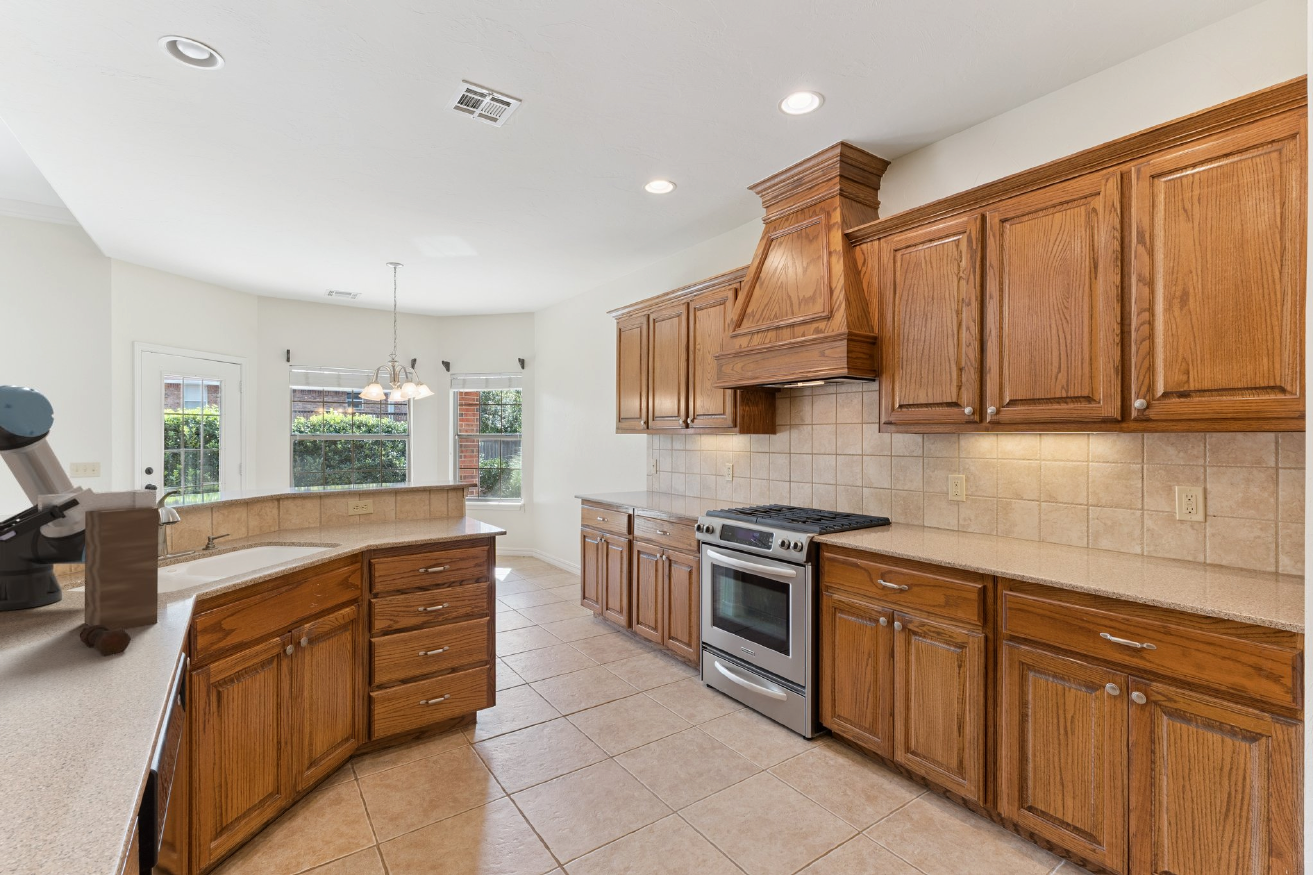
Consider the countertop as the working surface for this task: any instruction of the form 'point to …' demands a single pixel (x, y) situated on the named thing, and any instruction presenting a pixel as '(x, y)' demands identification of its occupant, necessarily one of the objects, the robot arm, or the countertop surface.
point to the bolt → (105, 639)
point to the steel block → (105, 500)
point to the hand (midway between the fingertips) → (88, 491)
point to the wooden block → (121, 567)
